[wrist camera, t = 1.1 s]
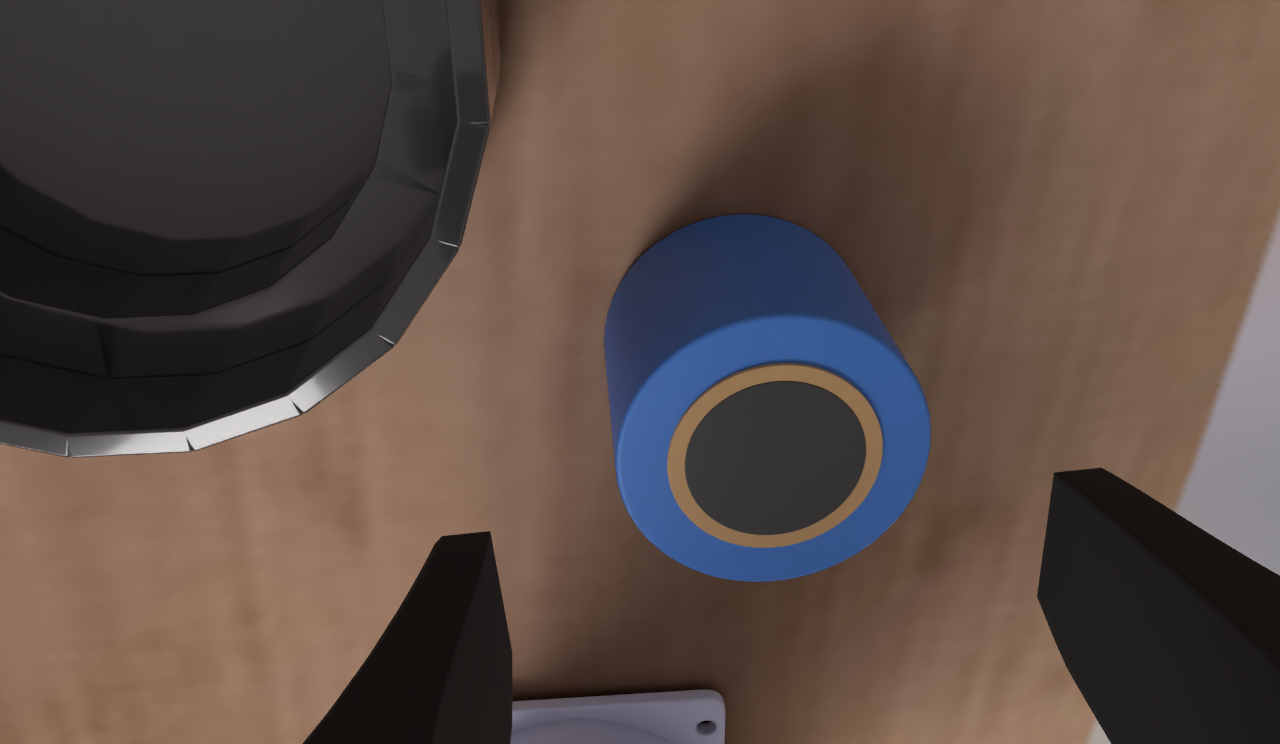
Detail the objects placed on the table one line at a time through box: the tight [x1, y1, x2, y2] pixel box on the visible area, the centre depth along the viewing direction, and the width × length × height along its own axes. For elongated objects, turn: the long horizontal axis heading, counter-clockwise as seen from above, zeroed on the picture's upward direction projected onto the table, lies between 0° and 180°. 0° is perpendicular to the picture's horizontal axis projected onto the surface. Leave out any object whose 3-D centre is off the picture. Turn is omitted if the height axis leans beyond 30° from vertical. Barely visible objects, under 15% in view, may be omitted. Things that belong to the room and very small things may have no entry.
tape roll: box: [604, 214, 931, 582], centre depth 21 cm, size 6×6×5 cm
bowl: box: [0, 0, 502, 458], centre depth 17 cm, size 13×13×4 cm
